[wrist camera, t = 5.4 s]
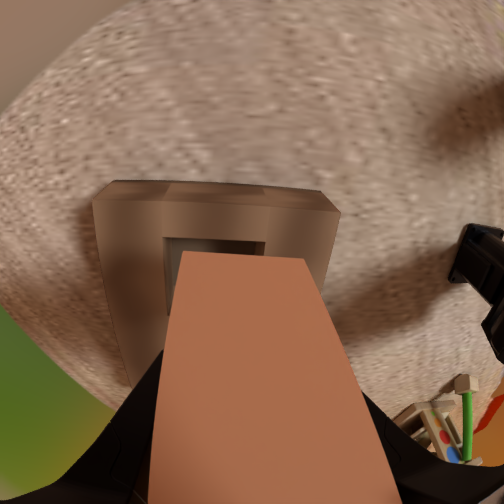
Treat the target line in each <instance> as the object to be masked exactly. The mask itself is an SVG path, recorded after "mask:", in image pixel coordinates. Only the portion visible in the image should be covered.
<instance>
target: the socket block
mask: <svg viewBox="0 0 504 504" xmlns="http://www.w3.org/2000/svg"><path fill="white" fill-rule="evenodd" d="M92 208H93V217H94V225H95V233H96V240H97V247H98V254H99V260H100V266H101V271H102V277H103V282H104V287H105V292H106V297H107V301H108V306H109V310H110V315H111V319H112V323H113V327H114V331H115V335H116V338H117V342H118V346H119V349H120V353H121V356H122V360H123V363H124V366H125V370H126V373H127V376H128V379H129V382H130V385H131V388H132V390H133V389H134V387H135V386H136V384H137V383H138V382H139V380H140V379H141V378H142V376H143V375H144V373H145V372H146V371H147V369H148V368H149V367H150V365H151V364H152V362H153V361H154V360H155V358H156V357H157V356H158V354H159V353H160V352H161V350H163V349H164V348H165V341H166V335H167V329H168V324H169V318H170V312H171V307H172V302H173V296H174V291H175V286H176V281H177V276H178V271H179V266H180V262H181V257H182V252H183V251H194V252H209V253H224V254H240V255H255V256H270V257H286V258H301V259H304V260H305V263H306V265H307V267H308V269H309V271H310V273H311V276H312V278H313V280H314V282H315V284H316V287H317V289H318V291H319V293H320V294H321V290H322V286H323V283H324V279H325V275H326V272H327V268H328V264H329V260H330V256H331V252H332V248H333V244H334V240H335V236H336V232H337V228H338V224H339V219H340V215H341V212H340V211H339V210H338V209H337V208H336V207H335V206H334V205H333V204H332V203H331V201H330V200H329V199H328V198H327V197H326V196H325V195H324V194H323V193H322V192H321V191H317V190H307V189H297V188H287V187H276V186H263V185H250V184H235V183H218V182H196V181H166V180H114V181H113V182H111V183H110V184H109V185H108V186H107V187H106V188H105V189H104V190H102V191H101V192H100V193H99V194H98V195H97V196H96V197H95V198H94V199H93V200H92Z"/></svg>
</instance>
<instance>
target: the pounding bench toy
mask: <svg viewBox="0 0 504 504" xmlns="http://www.w3.org/2000/svg"><path fill="white" fill-rule="evenodd" d="M454 387H455V394H458V395H462V403H463V439H462V437H461V435H460V433H459V431H458V429H457V427H456V425H455V423H454V421H453V419H452V417H451V415H450V413H449V412H450V411H451V410H453V409H454V408H455V407H456V404H455V402H454V400H448V401H438V402H424V403H414V404H412V405H411V406H410V407H409V408H408V409H407V410H405V411H404V412H403V413H402V414H401V415H399V416H398V417H397V418H396V419H395V420H393V422H394V423H395V424H396V425H397V426H398V427H400V428H401V429H402V430H403V431H404V432H405V433H406V434H408V435H409V436H410V437H411V438H413V439H414V440H415V441H416V442H418V443H419V444H420V445H422V446H423V447H424V448H426V449H427V448H428V447H429V445H430V444H431V442H432V443H433V446H434V448H435V450H436V452H431V453H432V454H434V455H435V456H437V457H438V458H440V459H442V460H444V461H447V462H451V463H458V464H466V465H475V466H479V465H480V464H481V463H483V462H482V459H481V457H478V458H476V459H474V460H472V459H471V453H472V394H473V393H476V392H478V391H479V389H478V379H477V378H476V377H473V376H471V375H468V374H463V375H460V376H458V377H457V378H456V379H455V380H454ZM417 438H418V439H417Z"/></svg>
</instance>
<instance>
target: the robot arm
mask: <svg viewBox="0 0 504 504" xmlns="http://www.w3.org/2000/svg"><path fill="white" fill-rule="evenodd" d="M503 235H504V231H503V230H502V229H501V228H496V227H490V226H485V225H480V224H474V223H471V224H470V225H469V226H468V228H467V231H466V234H465V237H464V240H463V242H462V245H461V248H460V250H459V253H458V255H457V258H456V260H455V263H454V265H453V267H452V270H451V272H450V275H449V277H448V281H449V282H450V283H469V284H470V285H471V286H472V287H473V288H474V289H475V290H476V291H477V292H478V293H479V294H480V295H481V296H482V297H483V299H484V300H485V301H486V302H487V303H488V304H489V305H490V306H491V307H492V308H491V310H490V311H489V313H488V315H487V316H486V318H485V319H484V320H483V321H482V323H481V326H482V328H483V330H484V332H485V334H486V337H487V339H488V341H489V343H490V345H491V347H492V349H493V351H494V353H495V356H496V358H497V359H498V360H499V361H500V362H501V363H503V364H504V242H503V241H502V238H503ZM163 354H164V349H163V350H161V352H160V353H159V354H158V356H157V357H156V358H155V360H154V361H153V362H152V364H151V365H150V367H149V368H148V369H147V371H146V372H145V373H144V375H143V376H142V378H141V379H140V380H139V382H138V383H137V384H136V386H135V387H134V389H133V390H132V391H131V393H130V394H129V395H128V397H127V398H126V400H125V401H124V402H123V404H122V405H121V406H120V408H119V409H118V411H117V412H116V413H115V415H114V416H113V418H112V419H111V420H110V422H111V423H108V424H107V426H106V427H105V429H104V430H103V431H102V433H101V434H100V435H99V437H98V438H97V439H96V441H95V442H94V443H93V444H92V445H91V446H90V448H89V449H88V450H87V451H86V452H85V453H84V454H83V455H82V456H81V457H80V458H79V459H78V460H77V461H76V463H74V464H73V466H72V467H70V469H69V470H68V471H67V472H66V473H65V474H64V475H63V476H62V477H60V478H59V479H58V480H57V481H55V482H54V483H52V484H50V485H48V486H45V487H43V488H40V489H38V490H35V491H32V492H30V493H27V494H24V495H21V496H19V497H15V498H12V499H9V500H0V504H148V490H149V475H150V462H151V450H152V440H153V430H154V421H155V412H156V404H157V396H158V388H159V381H160V374H161V367H162V360H163ZM361 392H362V391H361ZM362 395H363V397H364V400H365V402H366V405H367V407H368V410H369V412H370V415H371V418H372V420H373V423H374V425H375V428H376V431H377V433H378V436H379V439H380V441H381V444H382V447H383V450H384V452H385V455H386V458H387V461H388V463H389V466H390V469H391V472H392V475H393V478H394V481H395V484H396V486H397V489H398V492H399V495H400V498H401V501H402V504H504V464H503V465H501V466H496V467H486V466H475V465H466V464H458V463H451V462H447V461H444V460H442V459H440V458H438V457H437V456H435V455H434V454H432V453H431V452H430V451H428V450H427V449H426V448H424V447H423V446H422V445H420V444H419V443H418V442H416V441H415V440H414V439H413V438H411V437H410V436H409V435H408V434H406V433H405V432H404V431H403V430H402V429H401V428H400V427H398V426H397V425H396V424H395V423H394V422H393V421H392V420H391V419H390V418H389V417H387V415H386V414H385V413H384V412H383V411H382V410H381V409H380V408H379V407H378V406H377V405H376V404H375V403H374V402H373V401H372V400H371V399H370V398H368V397H367V396H366V395H365V394H364V393H363V392H362Z"/></svg>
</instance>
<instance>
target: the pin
mask: <svg viewBox="0 0 504 504" xmlns="http://www.w3.org/2000/svg"><path fill="white" fill-rule="evenodd" d="M148 504H402V501H401V498H400V495H399V492H398V489H397V486H396V484H395V481H394V478H393V475H392V472H391V469H390V466H389V463H388V461H387V458H386V455H385V452H384V450H383V447H382V444H381V441H380V439H379V436H378V433H377V431H376V428H375V425H374V423H373V420H372V418H371V415H370V412H369V410H368V407H367V405H366V402H365V400H364V397H363V395H362V392H361V390H360V387H359V385H358V382H357V380H356V377H355V375H354V372H353V370H352V367H351V365H350V363H349V360H348V358H347V355H346V353H345V351H344V348H343V346H342V344H341V341H340V339H339V336H338V334H337V332H336V329H335V327H334V325H333V323H332V320H331V318H330V316H329V313H328V311H327V309H326V307H325V304H324V302H323V300H322V298H321V295H320V293H319V291H318V289H317V287H316V284H315V282H314V280H313V278H312V276H311V273H310V271H309V269H308V267H307V265H306V263H305V260H304V259H301V258H286V257H270V256H255V255H240V254H224V253H209V252H194V251H183V252H182V257H181V262H180V266H179V271H178V276H177V281H176V286H175V291H174V296H173V302H172V307H171V312H170V318H169V324H168V329H167V335H166V341H165V348H164V354H163V360H162V367H161V374H160V381H159V388H158V396H157V404H156V412H155V421H154V430H153V440H152V450H151V462H150V475H149V490H148Z"/></svg>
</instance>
